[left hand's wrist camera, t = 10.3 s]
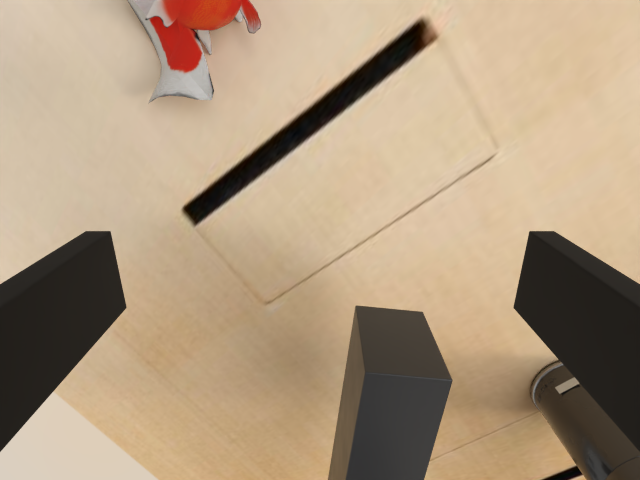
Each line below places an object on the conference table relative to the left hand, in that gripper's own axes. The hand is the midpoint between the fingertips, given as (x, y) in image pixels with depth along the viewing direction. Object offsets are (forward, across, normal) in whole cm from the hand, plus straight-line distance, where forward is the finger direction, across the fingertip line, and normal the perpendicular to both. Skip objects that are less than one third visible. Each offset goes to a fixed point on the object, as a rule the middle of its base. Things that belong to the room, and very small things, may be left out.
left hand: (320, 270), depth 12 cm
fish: (+31, -11, +10) cm, 34 cm away
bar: (+16, +4, -23) cm, 29 cm away
